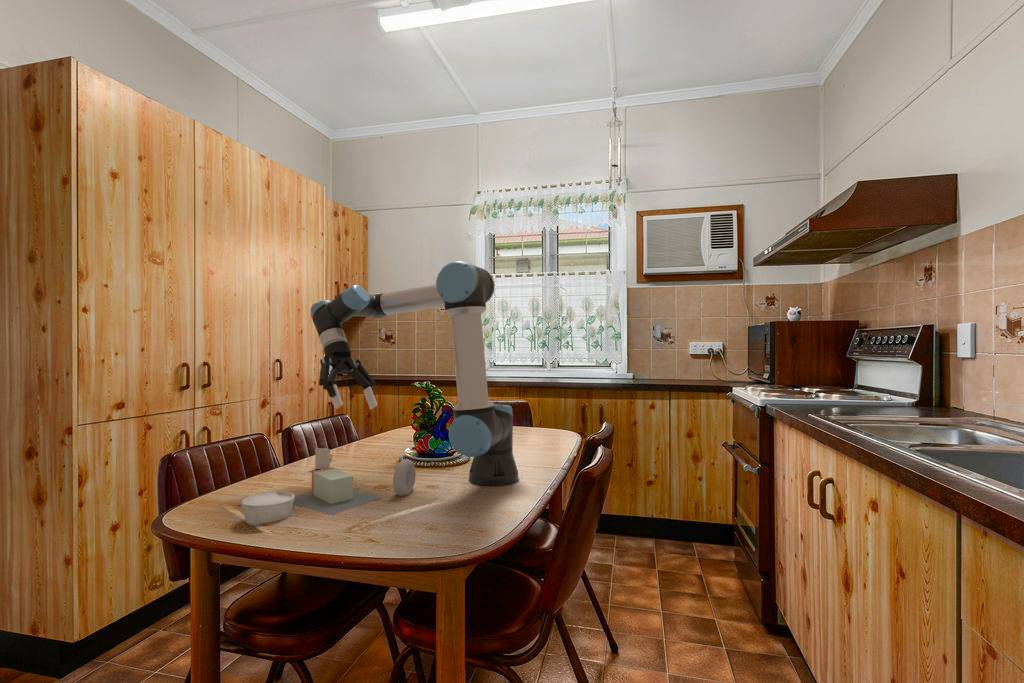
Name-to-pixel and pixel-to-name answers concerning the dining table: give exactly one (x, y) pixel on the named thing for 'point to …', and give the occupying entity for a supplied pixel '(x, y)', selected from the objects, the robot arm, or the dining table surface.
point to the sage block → (332, 485)
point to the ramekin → (267, 507)
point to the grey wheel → (404, 477)
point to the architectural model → (323, 458)
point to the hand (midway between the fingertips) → (357, 407)
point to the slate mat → (325, 507)
